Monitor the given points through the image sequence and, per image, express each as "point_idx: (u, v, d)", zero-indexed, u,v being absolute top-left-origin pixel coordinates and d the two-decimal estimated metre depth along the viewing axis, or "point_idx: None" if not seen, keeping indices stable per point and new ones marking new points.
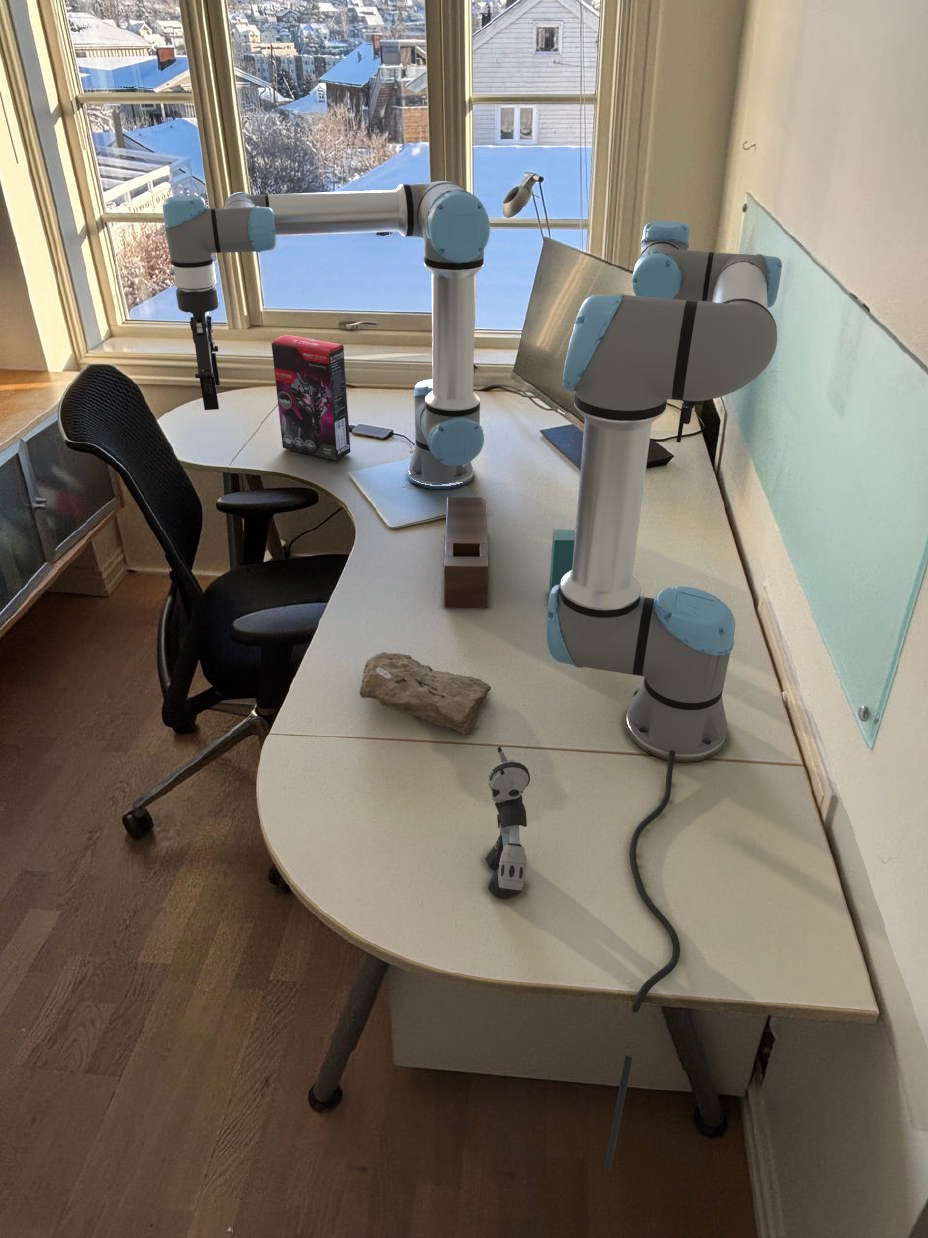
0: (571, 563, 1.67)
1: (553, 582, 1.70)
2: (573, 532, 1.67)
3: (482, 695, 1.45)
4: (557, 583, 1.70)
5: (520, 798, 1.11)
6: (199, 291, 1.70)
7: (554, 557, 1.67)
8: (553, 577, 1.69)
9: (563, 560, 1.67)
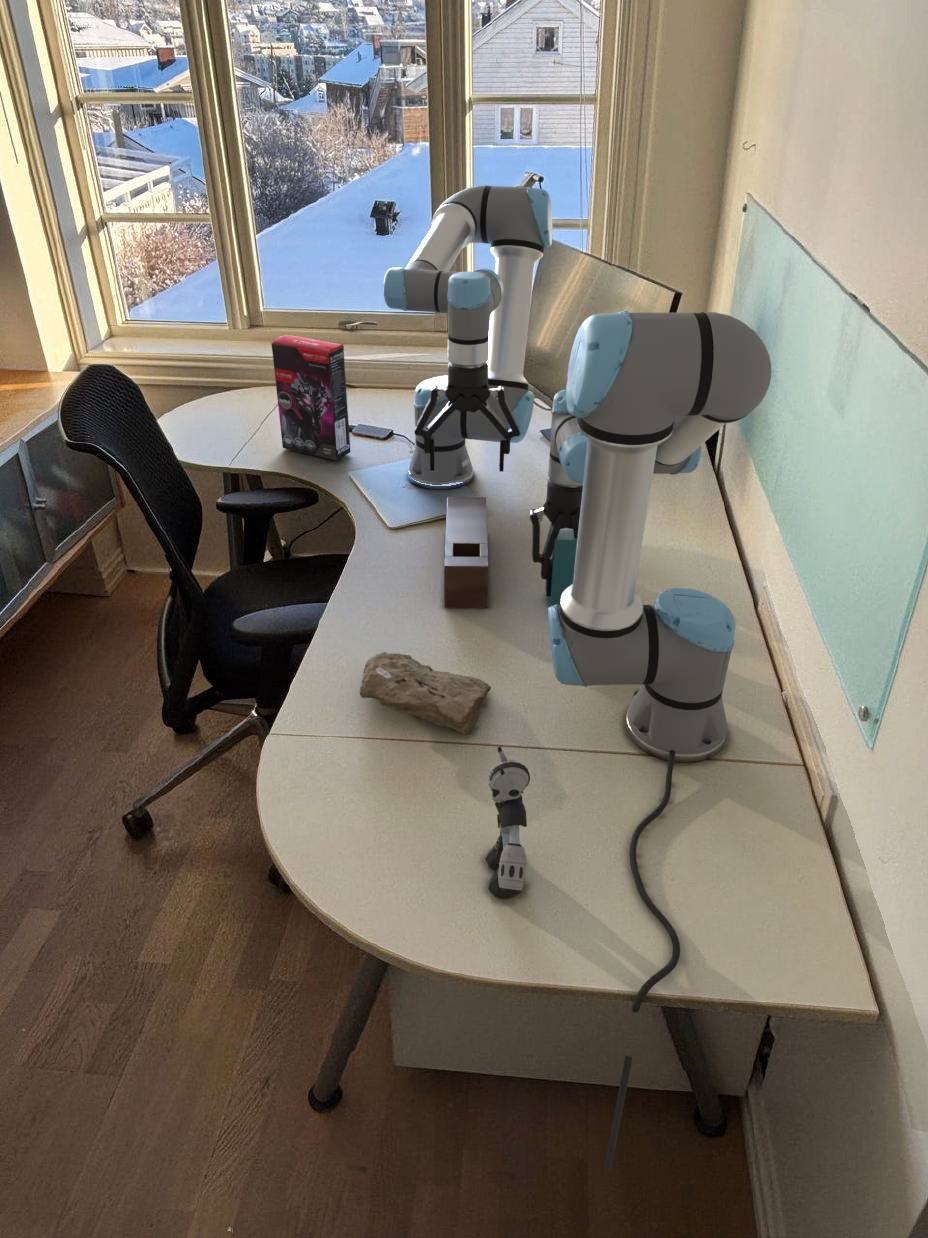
0: (571, 563, 1.67)
1: (553, 582, 1.70)
2: None
3: (482, 695, 1.45)
4: (557, 583, 1.70)
5: (520, 798, 1.11)
6: (451, 363, 1.70)
7: (554, 557, 1.67)
8: (553, 577, 1.69)
9: (563, 560, 1.67)
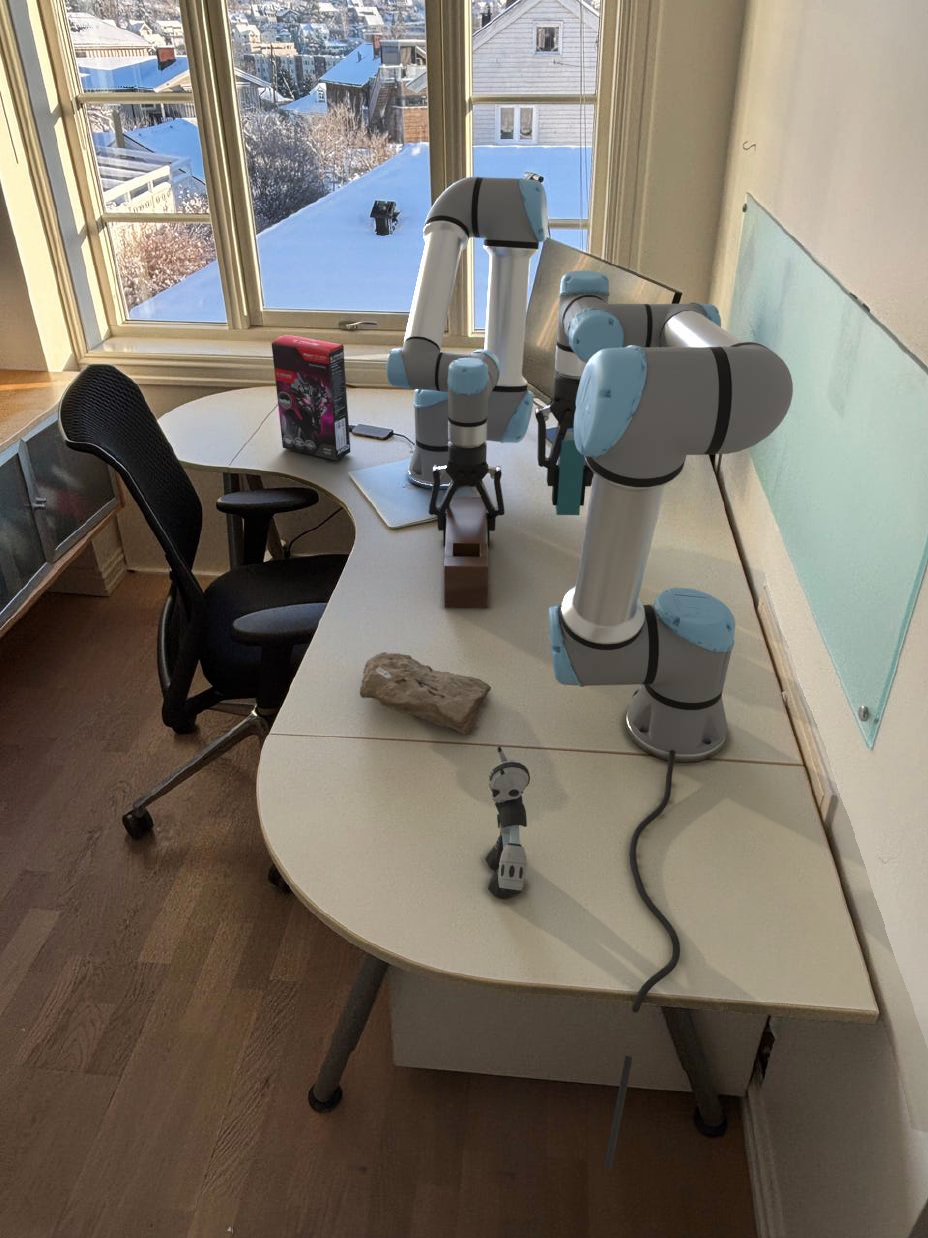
0: (579, 467, 1.57)
1: (560, 488, 1.59)
2: None
3: (482, 695, 1.45)
4: (564, 489, 1.59)
5: (520, 798, 1.11)
6: (451, 442, 1.78)
7: (561, 460, 1.56)
8: (560, 483, 1.58)
9: (571, 464, 1.57)
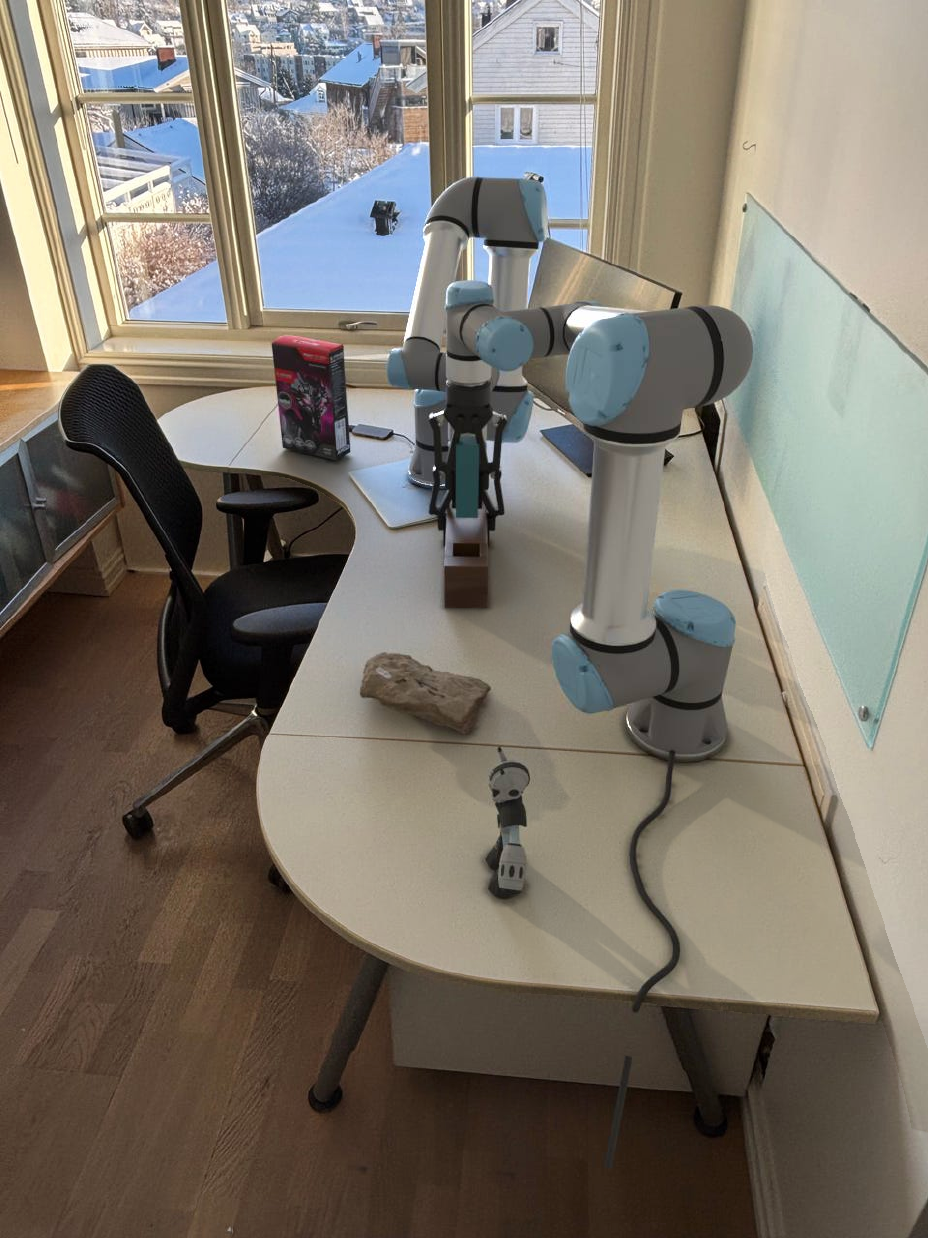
0: (474, 471, 1.61)
1: (457, 492, 1.63)
2: None
3: (482, 695, 1.45)
4: (461, 493, 1.63)
5: (520, 798, 1.11)
6: None
7: (456, 464, 1.60)
8: (457, 486, 1.62)
9: (466, 468, 1.60)
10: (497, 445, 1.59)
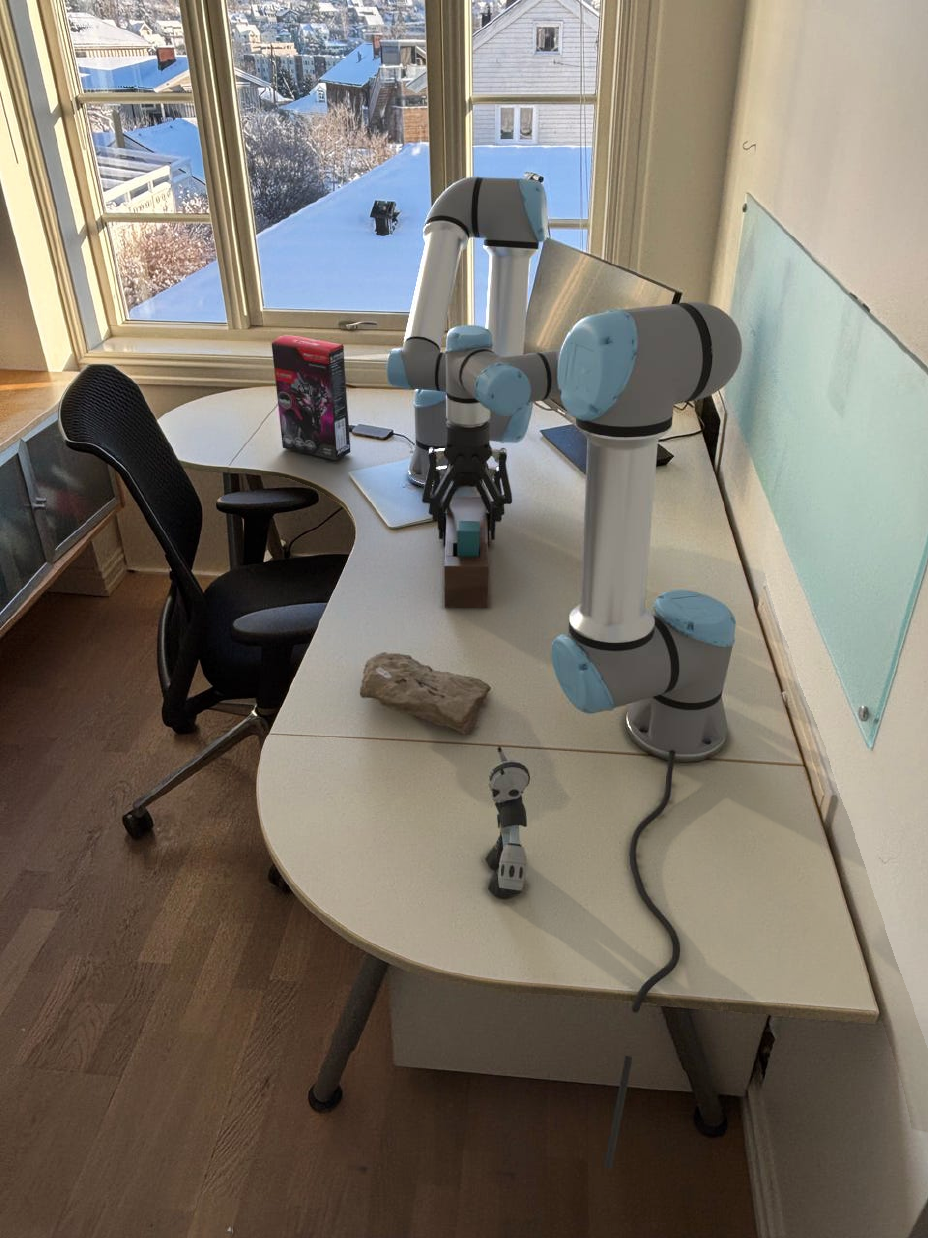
0: (475, 554, 1.70)
1: None
2: (477, 523, 1.70)
3: (482, 695, 1.45)
4: None
5: (520, 798, 1.11)
6: None
7: (458, 548, 1.69)
8: None
9: (467, 551, 1.70)
10: (504, 480, 1.62)
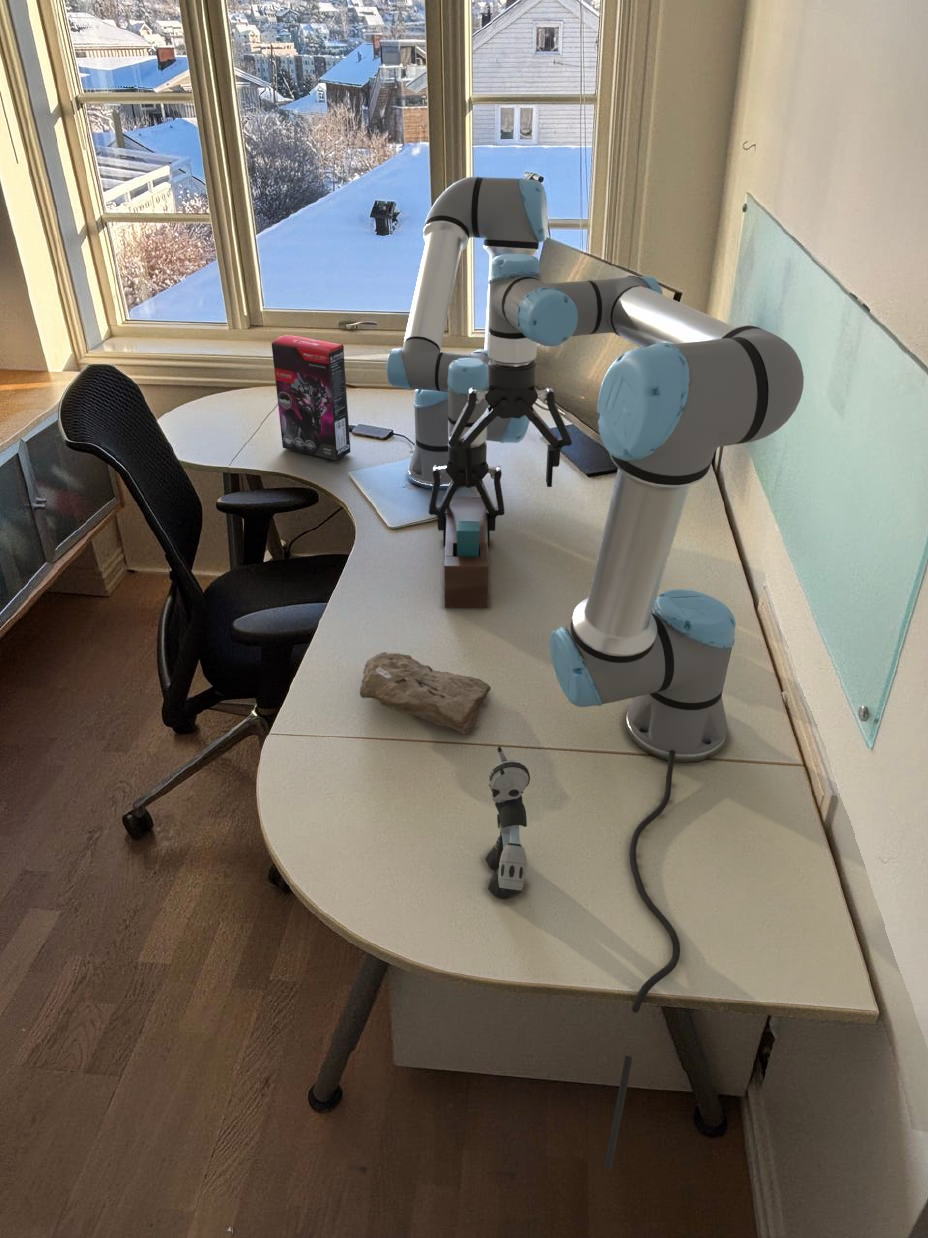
0: (475, 554, 1.70)
1: None
2: (476, 523, 1.70)
3: (482, 695, 1.45)
4: None
5: (520, 798, 1.11)
6: None
7: (457, 548, 1.69)
8: None
9: (467, 551, 1.70)
10: (557, 420, 1.49)
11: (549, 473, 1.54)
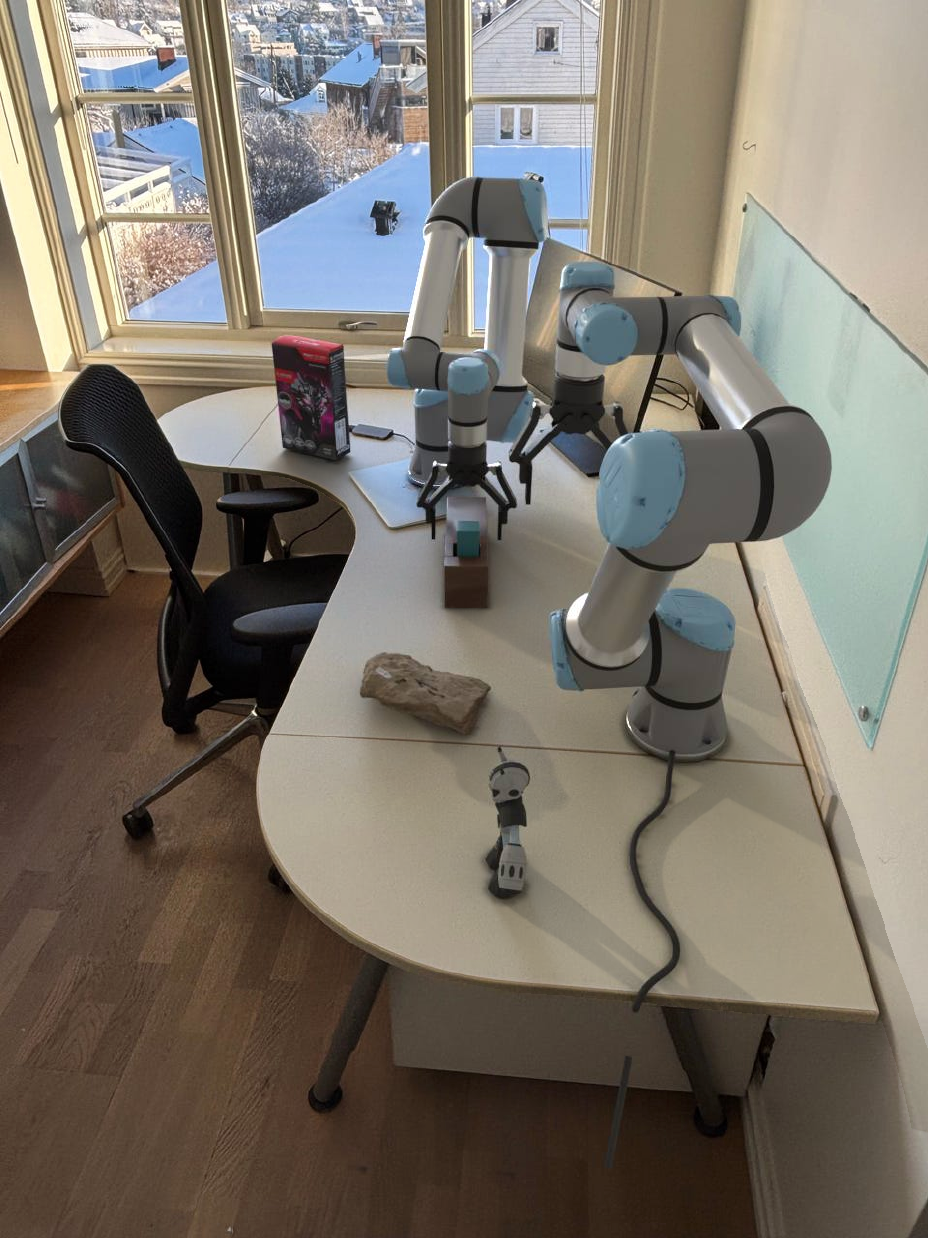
0: (475, 554, 1.70)
1: None
2: (476, 523, 1.70)
3: (482, 695, 1.45)
4: None
5: (520, 798, 1.11)
6: (451, 442, 1.78)
7: (457, 548, 1.69)
8: None
9: (467, 551, 1.70)
10: None
11: None
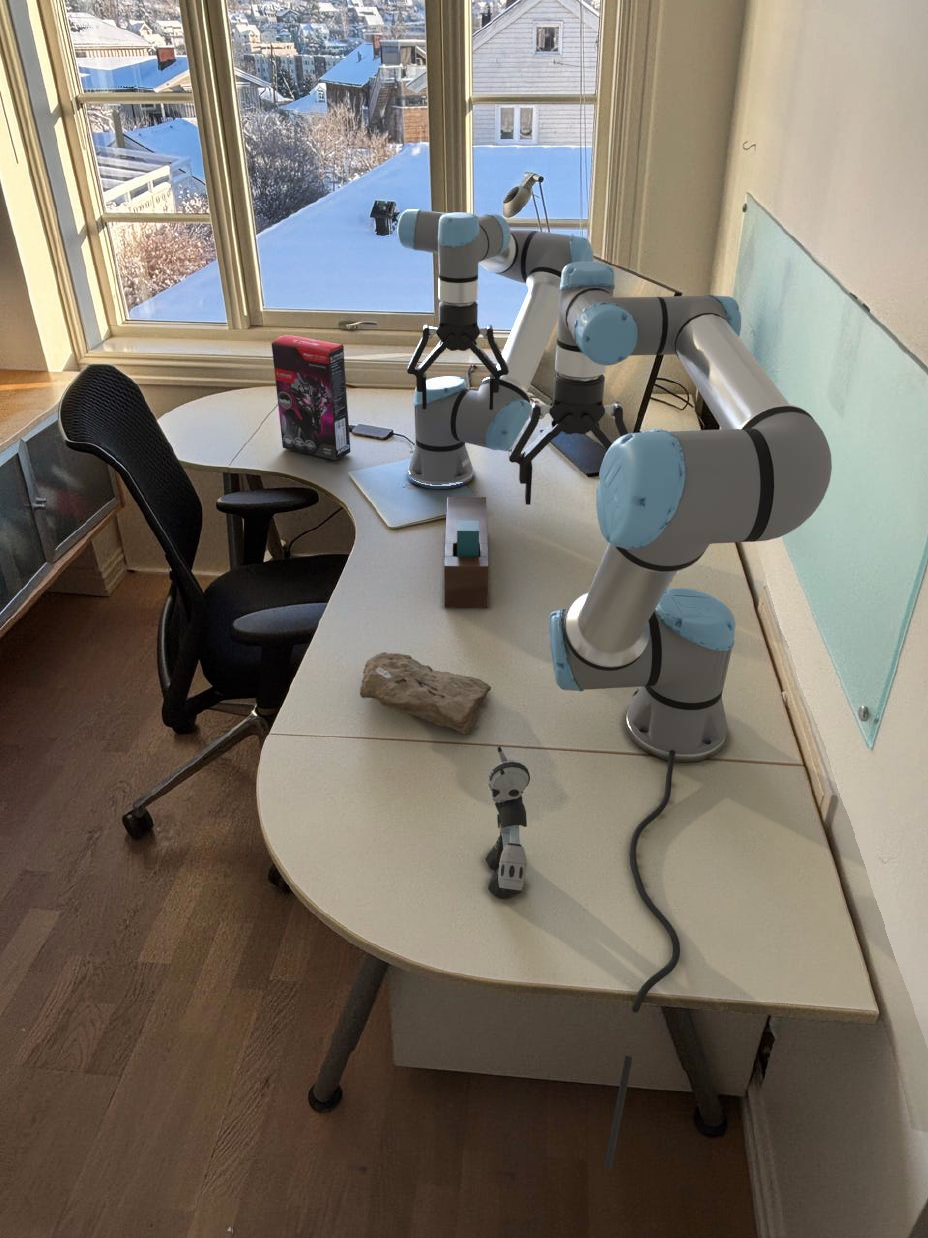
0: (475, 554, 1.70)
1: None
2: (476, 523, 1.70)
3: (482, 695, 1.45)
4: None
5: (520, 798, 1.11)
6: (442, 302, 1.76)
7: (458, 548, 1.69)
8: None
9: (467, 551, 1.70)
10: None
11: None
